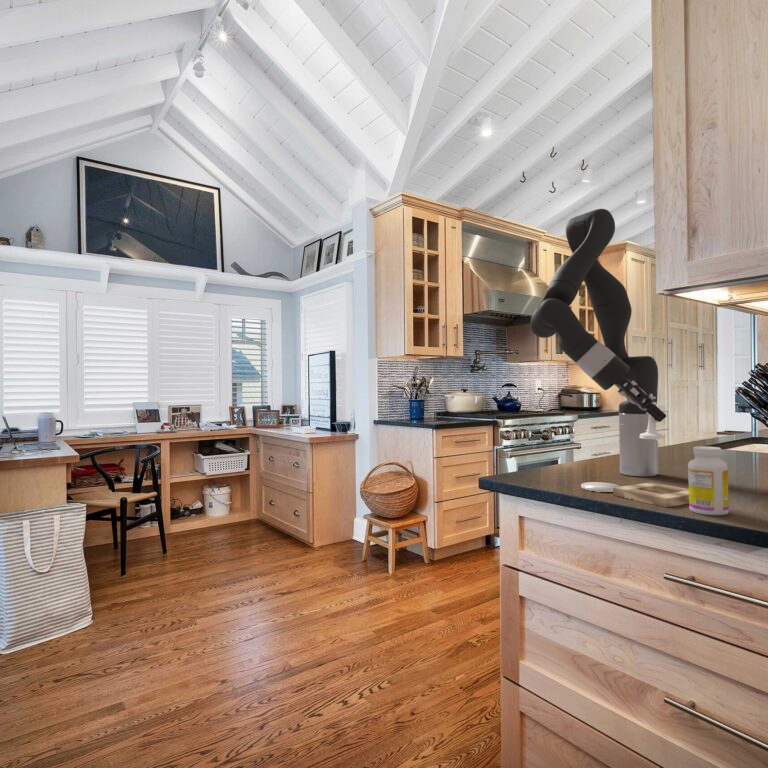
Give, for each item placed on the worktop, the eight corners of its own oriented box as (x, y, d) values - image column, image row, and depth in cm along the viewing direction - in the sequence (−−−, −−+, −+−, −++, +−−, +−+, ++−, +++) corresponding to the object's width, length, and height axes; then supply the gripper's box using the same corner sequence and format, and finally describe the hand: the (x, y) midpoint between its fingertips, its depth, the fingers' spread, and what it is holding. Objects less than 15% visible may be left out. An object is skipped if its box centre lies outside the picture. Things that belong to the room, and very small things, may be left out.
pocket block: (651, 489, 122) (651, 482, 122) (705, 500, 110) (705, 492, 110) (613, 495, 116) (613, 487, 116) (666, 507, 105) (666, 498, 105)
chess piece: (644, 436, 118) (644, 393, 118) (667, 438, 114) (666, 393, 114) (635, 438, 115) (635, 394, 115) (658, 439, 111) (658, 394, 111)
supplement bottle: (717, 508, 103) (716, 445, 103) (736, 516, 97) (735, 449, 97) (682, 508, 104) (681, 445, 104) (699, 516, 97) (698, 449, 97)
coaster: (599, 484, 130) (598, 480, 130) (629, 490, 122) (629, 487, 122) (573, 487, 126) (573, 484, 126) (603, 494, 118) (602, 490, 118)
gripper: (617, 352, 110) (682, 408, 106) (611, 355, 123) (668, 405, 119) (591, 376, 112) (654, 433, 108) (588, 377, 125) (643, 427, 121)
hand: (661, 418), depth 114 cm, fingers closed on chess piece
